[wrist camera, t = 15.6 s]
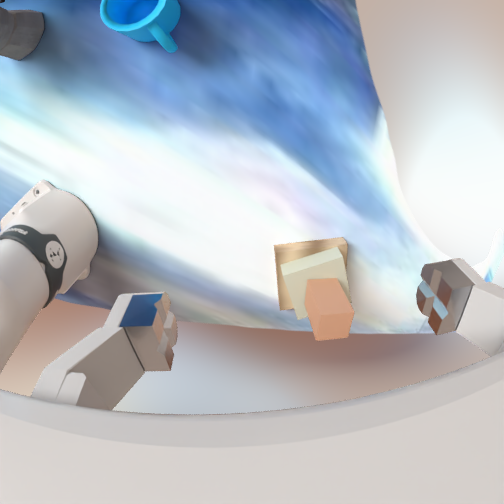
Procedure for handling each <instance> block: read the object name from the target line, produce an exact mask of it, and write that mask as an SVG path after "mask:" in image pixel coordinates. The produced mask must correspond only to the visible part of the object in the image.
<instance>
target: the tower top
mask: <svg viewBox="0 0 504 504" xmlns="http://www.w3.org/2000/svg"><path fill="white" fill-rule="evenodd" d="M280 266H281V270H282V275H283V278H284V281H285V284H286V287H287V290H288V292H289V295H290V298H291V301H292V304H293V307H294V310H295V313H296V316H297V319H298V320H299V319H302V318H306V317H308V314H307V311H306V308H305V305H304V303H305V295H306V286H307V280H308V279H327V278H337V280H338V281H339V283H340V285H341V287H342V289H343V291H344V293H345V295H346V297H347V299H348V301H349V303H352V302H351V296H350V291H349V285H348V280H347V275H346V269H345V264H344V259H343V256H342V254H341V252H340V251H339V249H338V247H334V248H331V249H328V250H325V251H322V252H319V253H316V254H313V255H309V256H306V257H303V258H300V259H297V260H294V261H291V262H287V263H284V264H281V265H280Z"/></svg>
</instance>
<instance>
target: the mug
mask: <svg viewBox="0 0 504 504" xmlns="http://www.w3.org/2000/svg"><path fill="white" fill-rule="evenodd" d="M100 15H101V18H102V20H103V22H104V23H105V24H106V25H107V26H108V27H109V28H111V29H113V30H115V31H117V32H119V33H122V34H124V35H126V36H128V37H130V38H132V39H135V40H137V41H139V42H151V41H156V40H157V41H158V42H159V43H160V45H161V46H162V47H163V48H164V49H165V50H166V51H167V52H169V53H174V52H175V51H176V50H177V49H178V47H177V45H176V43H175V41H174V40H173V38H172V37H171V35H170V34H169V33H170V32H171V31H172V30H173V29H174V28H175V26H176V25H177V23H178V21H179V18H180V15H181V12H180V5H179V3H178V1H177V0H102V2H101V5H100Z"/></svg>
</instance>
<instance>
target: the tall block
mask: <svg viewBox="0 0 504 504" xmlns="http://www.w3.org/2000/svg"><path fill="white" fill-rule="evenodd" d="M304 305H305V308H306V311H307V314H308V317H309V320H310V323H311V326H312V329H313V332H314V335H315V339H316V341H319V340H328V339H329V340H330V339H339V338H347V337H348V335H349V331H350V327H351V323H352V320H353V316H354V310H353V308H352V306H351V304H350V303H349V301H348V299H347V297H346V295H345V293H344V291H343V289H342V287H341V285H340V283H339V281H338V280H337V278H327V279H308V280H307V286H306V295H305V303H304Z"/></svg>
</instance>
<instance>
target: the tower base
mask: <svg viewBox="0 0 504 504" xmlns="http://www.w3.org/2000/svg"><path fill="white" fill-rule="evenodd" d="M347 246H348V244H347V243H346V241H345V240H344V238H343V237H340V238H331V239H322V240H314V241H305V242H296V243H288V244H279V245H274V251H275V263H276V274H277V287H278V299H279V306H280V310H287V309H294V307H293V304H292V301H291V298H290V295H289V292H288V290H287V287H286V284H285V281H284V278H283V275H282V270H281V266H280V265H281V264H284V263H287V262H291V261H294V260H297V259H300V258H303V257H306V256H309V255H313V254H316V253H319V252H322V251H325V250H328V249H331V248H334V247H338V249H339V251H340V252H341V254H342V256H343V259H344V264H345V269H346V266H347Z"/></svg>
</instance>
